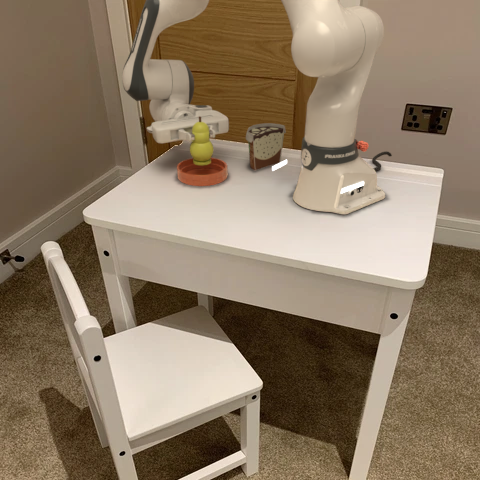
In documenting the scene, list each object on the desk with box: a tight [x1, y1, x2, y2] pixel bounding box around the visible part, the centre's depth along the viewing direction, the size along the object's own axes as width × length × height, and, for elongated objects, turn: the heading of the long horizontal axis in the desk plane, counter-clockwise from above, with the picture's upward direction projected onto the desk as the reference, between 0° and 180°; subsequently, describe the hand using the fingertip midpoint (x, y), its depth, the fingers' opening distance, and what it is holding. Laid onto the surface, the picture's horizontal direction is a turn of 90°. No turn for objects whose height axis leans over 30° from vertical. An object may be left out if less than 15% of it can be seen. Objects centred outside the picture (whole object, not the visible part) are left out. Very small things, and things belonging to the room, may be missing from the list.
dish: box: [176, 156, 229, 187], centre depth 128 cm, size 13×13×3 cm
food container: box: [245, 122, 287, 172], centre depth 134 cm, size 12×6×10 cm, turn 130°
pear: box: [189, 116, 214, 165], centre depth 123 cm, size 6×6×11 cm
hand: (202, 136), depth 122 cm, fingers closed on pear, 4 cm apart
